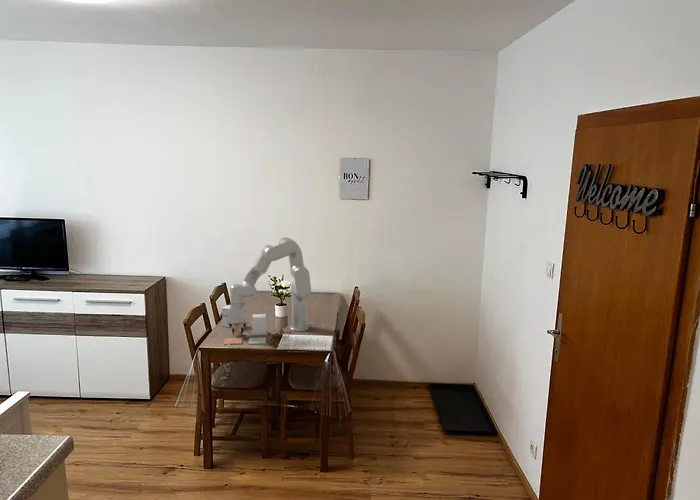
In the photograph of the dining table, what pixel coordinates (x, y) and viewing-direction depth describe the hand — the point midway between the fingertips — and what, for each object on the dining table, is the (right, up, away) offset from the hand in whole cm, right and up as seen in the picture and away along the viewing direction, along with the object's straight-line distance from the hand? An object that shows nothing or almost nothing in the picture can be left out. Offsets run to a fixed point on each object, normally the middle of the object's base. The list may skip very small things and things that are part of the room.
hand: (237, 333), depth 307 cm
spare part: (0, -1, 0) cm, 1 cm away
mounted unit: (+13, -1, +2) cm, 13 cm away
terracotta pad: (-1, -3, -10) cm, 10 cm away
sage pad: (+13, -3, -9) cm, 16 cm away
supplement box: (-9, +2, +18) cm, 20 cm away
